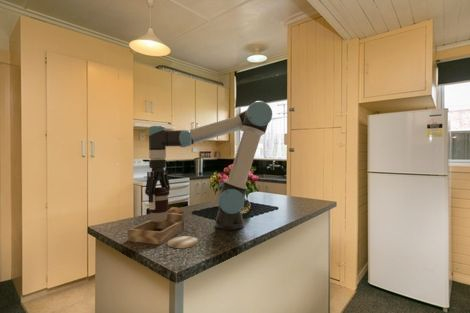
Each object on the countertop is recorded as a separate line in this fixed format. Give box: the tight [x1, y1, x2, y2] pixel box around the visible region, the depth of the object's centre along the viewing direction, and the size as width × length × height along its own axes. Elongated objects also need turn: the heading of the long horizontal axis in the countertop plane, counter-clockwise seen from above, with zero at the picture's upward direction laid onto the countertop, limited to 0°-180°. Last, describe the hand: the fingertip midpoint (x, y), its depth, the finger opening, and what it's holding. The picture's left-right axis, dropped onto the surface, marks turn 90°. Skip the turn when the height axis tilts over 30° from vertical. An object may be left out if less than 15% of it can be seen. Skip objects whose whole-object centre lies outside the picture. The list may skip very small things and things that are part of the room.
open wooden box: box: [127, 213, 185, 245], centre depth 121 cm, size 16×21×8 cm
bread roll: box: [167, 206, 184, 214], centre depth 154 cm, size 10×10×8 cm
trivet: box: [166, 235, 199, 249], centre depth 111 cm, size 13×13×1 cm
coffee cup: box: [147, 186, 170, 222], centre depth 120 cm, size 10×10×15 cm
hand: (158, 206), depth 120 cm, fingers closed on coffee cup, 10 cm apart
